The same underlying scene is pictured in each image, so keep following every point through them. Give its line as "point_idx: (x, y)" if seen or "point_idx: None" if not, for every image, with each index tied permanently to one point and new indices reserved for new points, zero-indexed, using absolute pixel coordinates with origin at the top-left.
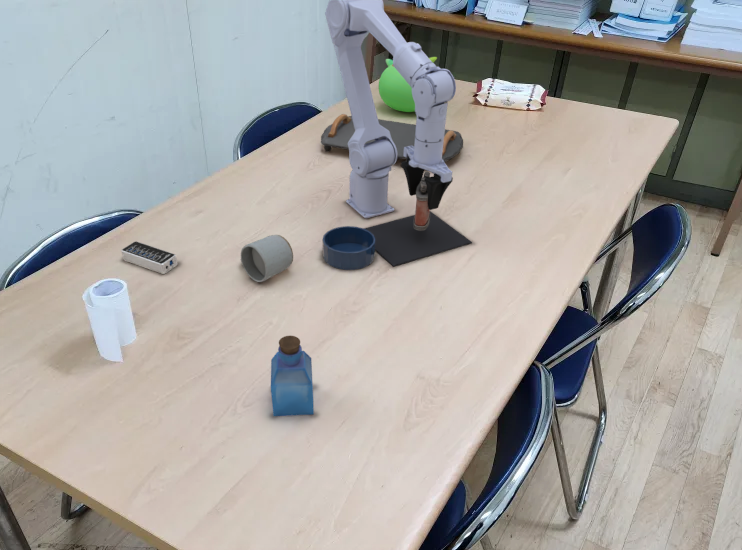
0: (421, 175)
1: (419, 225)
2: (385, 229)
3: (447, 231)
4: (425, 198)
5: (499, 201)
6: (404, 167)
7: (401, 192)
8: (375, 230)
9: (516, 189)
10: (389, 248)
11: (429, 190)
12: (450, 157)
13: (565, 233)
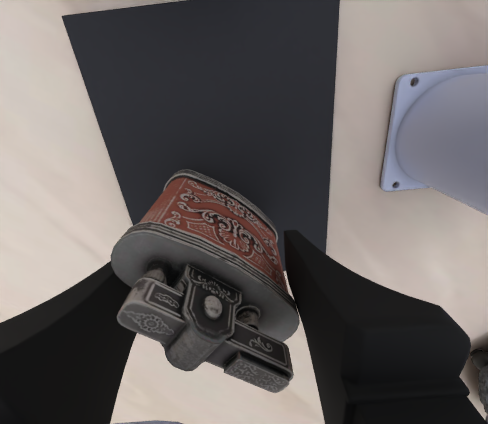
0: (309, 342)
1: (167, 185)
2: (294, 108)
3: None
4: (114, 257)
5: (291, 382)
6: (378, 312)
7: (453, 250)
8: (304, 69)
9: (314, 414)
10: (175, 60)
11: (49, 308)
12: (483, 396)
13: (148, 407)
